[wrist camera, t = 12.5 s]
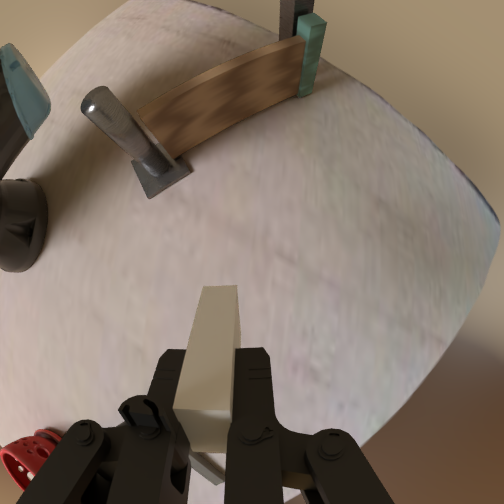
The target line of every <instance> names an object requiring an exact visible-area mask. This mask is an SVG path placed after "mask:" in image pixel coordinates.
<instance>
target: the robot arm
mask: <svg viewBox="0 0 504 504" xmlns="http://www.w3.org/2000/svg"><path fill="white" fill-rule="evenodd" d="M50 111H51V101H50V98H49V96H48V94H47V92H46V90H45V89H44V87H43V85H42V84H41V82H40V81H39V79H38V77H37V76H36V74H35V73H34V71H33V70H32V68H31V67H30V65H29V64H28V63H27V61H26V60H25V58H24V57H23V56H22V54H21V53H20V52H19V51H18V50H17V49H16V48H15V47H14V45H13V44H11V43H8V44H6V45H5V46H2V47H1V48H0V268H1V269H2V270H4V271H6V272H15V273H19V272H23V271H25V270H27V269H28V268H29V267H30V266H31V265H32V264H33V263H34V261H35V260H36V258H37V256H38V254H39V252H40V250H41V247H42V245H43V241H44V238H45V233H46V227H47V203H46V198H45V195H44V192H43V190H42V189H41V187H40V186H39V185H38V184H36V183H34V182H32V181H30V180H27V179H16V180H13V179H6V180H2V178H3V177H4V175H5V174H6V172H7V171H8V169H9V168H10V166H11V165H12V164H13V162H14V161H15V159H16V158H17V156H18V155H19V154H20V152H21V151H22V150H23V148H24V147H25V146H26V144H27V143H28V142H29V141H30V140H32V139H33V137H34V134H35V133H36V131H37V130H38V129H39V127H40V126H41V125H42V124H43V122H44V121H45V120H46V119H47V117H48V116H49V114H50ZM118 411H119V413H120V414H121V416H122V417H123V419H124V420H125V422H126V423H127V425H124V426H119V427H109V428H102V427H101V426H100V425H99V424H98V423H97V422H95V421H92V420H89V419H88V420H80V421H78V422H76V423H74V424H73V425H72V426H71V427H70V428H69V430H68V431H67V432H66V434H65V435H64V436H63V438H62V439H61V440H60V442H59V443H58V444H57V446H56V447H55V449H54V450H53V451H52V453H51V454H50V455H49V457H48V458H47V460H46V461H45V462H44V464H43V465H42V467H41V468H40V469H39V471H38V472H37V474H36V475H35V476H34V478H33V479H32V481H31V482H30V484H29V485H28V486H27V488H26V489H25V491H24V492H23V494H22V495H21V497H20V499H19V500H18V501H17V503H16V504H187V501H188V491H189V483H190V474H191V461H190V459H189V450H190V447H191V449H192V451H193V452H205V453H226V472H225V495H224V504H284V500H283V488H282V486H283V487H288V488H294V489H300V491H301V493H302V495H303V498H304V500H305V502H306V504H394V502H393V500H392V499H391V497H390V496H389V494H388V492H387V491H386V489H385V488H384V486H383V485H382V483H381V481H380V480H379V478H378V477H377V475H376V474H375V472H374V470H373V469H372V467H371V465H370V464H369V462H368V461H367V459H366V457H365V456H364V454H363V453H362V451H361V449H360V448H359V446H358V445H357V443H356V441H355V440H354V439H353V438H352V436H351V435H350V434H349V433H347V432H345V431H342V430H340V429H332V428H331V429H325V430H321V431H319V432H317V433H316V434H314V435H308V434H302V433H297V432H293V431H290V430H288V429H286V428H284V427H283V426H282V425H281V424H280V423H279V422H278V420H277V418H276V415H275V408H274V397H273V386H272V376H271V365H270V356H269V355H268V354H267V352H266V351H265V349H264V348H263V347H260V348H241V329H240V317H239V305H238V293H237V285H232V286H205V287H203V289H202V293H201V296H200V300H199V304H198V307H197V311H196V315H195V319H194V323H193V326H192V330H191V334H190V338H189V342H188V346H187V350H184V349H167V351H166V352H165V353H164V354H163V355H162V356H161V357H160V358H159V361H158V364H157V367H156V371H155V373H154V376H153V379H152V382H151V385H150V388H149V391H148V394H147V395H137V396H134V397H131V398H128V399H127V400H126V401H124V402H123V403H122V404H121V406H120V407H119V409H118Z"/></svg>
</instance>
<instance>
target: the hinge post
mask: <svg viewBox="0 0 504 504" xmlns="http://www.w3.org/2000/svg"><path fill="white" fill-rule="evenodd" d="M81 112H82V113H83V114H84V115H85V116H86V117H88V118H89V119H90V120H91V121H92V122H93V123H94V124H95V125H96V126H98V127H99V128H100V129H101V130H102V131H103V132H104V133H105V134H106V135H108V136H109V137H110V138H111V139H112V140H113V141H114V142H115V143H116V144H118V145H119V146H120V147H121V148H122V149H123V150H124V151H125V152H126V153H128V154H129V155H130V156H131V157H132V158H133V159H134V160H132V161H131V163H132V165H133V167H134V170H135V172H136V174H137V176H138V178H139V181H140V183H141V185H142V187H143V189H144V191H145V193H146V196H147V198H148V199H151V198H152V197H154V196H155V195H157V194H158V193H160V192H161V191H163V190H164V189H166V188H167V187H169V186H171V185H172V184H174V183H175V182H177V181H178V180H180V179H182V178H183V177H185V176H187V175H188V174H190V171H189V169H188V167H187V166H186V164H185V162H184V160H183V158H182V157H181V155H179V156H178V157H176V158H175V159H172V157H171V156H170V155H169V154H168V152H167V151H166V150H165V149H164V147H163V146H162V145H161V144H160V143H158V144H156V145H155V143H154V142H153V141H152V140H151V139H150V137H149V136H148V135H147V134H146V133H145V131H144V130H143V129H142V128H141V127H140V126H139V124H138V123H137V122H136V121H135V120H134V118H133V117H132V116H131V115H130V114H129V112H128V111H127V110H126V109H125V108H124V106H123V105H122V104H121V103H120V102H119V100H118V99H117V98H116V97H115V96H114V94H113V93H112V92H111V91H110V90H109V88H108V87H106V86H99V87H97V88H95V89H93V90H92V91H90V92H89V93H88V94H87V95H86V96H85V98H84V99H83V101H82V104H81Z"/></svg>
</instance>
